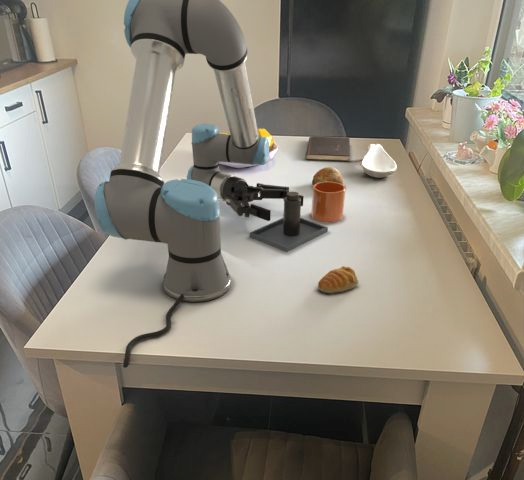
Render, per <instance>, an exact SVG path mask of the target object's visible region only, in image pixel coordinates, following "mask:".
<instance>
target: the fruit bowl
mask: <svg viewBox="0 0 524 480" xmlns="http://www.w3.org/2000/svg"><path fill="white" fill-rule="evenodd" d="M257 129H258V134H259V136H262V137H266V138H267V139H268V141H269V156H268V160H267V162H269V161H271V160H272V159H273V157H274V156H275V154H276V152H278V150H279V146H278V144H277V142H276V141H275V140H274V138H273V135H272V134H270V133H269V132H268V130H267V129H266V128H264V127H263V128H261V127H259V128H258V127H257ZM219 134H229V133H227V132H223V131H221V132H220V133H219ZM219 165H223V166H227V167H231V168H234V169H243V168H248V167H249V168H250V167H255V166H257V165H250V164H240V163H230V162H219Z"/></svg>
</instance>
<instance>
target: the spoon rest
mask: <svg viewBox="0 0 524 480" xmlns="http://www.w3.org/2000/svg"><path fill="white" fill-rule="evenodd" d="M397 167H398V166H397V163H396V161H395V160H394V159H393V158H392V157H391V156H390V155H389V153H387V151H386V150H385V148H383V146H382V145H381V144H380V143H376V144H374V143H369V144H368V146H367V148H366V150H365V153H364V155H363V159H362V161H361V168H362V170H363V172H365V174H367V175H368V176H369V177H372V178H375V179H382V178H387V177H389V176H391V175H392V174H394V172H395V171H396V170H397Z"/></svg>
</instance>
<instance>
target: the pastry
mask: <svg viewBox="0 0 524 480" xmlns="http://www.w3.org/2000/svg"><path fill="white" fill-rule="evenodd" d="M358 284H359V280H358V276H357V274H356V272H355V270H354V269H353V268H352V267H350V266H344V265H342V266H341V267H339V268H335V269H331V270H329V271H328V272H327V273H325V274H324V275H323V276H322V277H321V279H320V280H319V281H318V283H317V286H318V287H317V289H318V291H321V292H324V293H327V294H335V293H336V294H337V293H343V292H346V291H348V290H352V289H354V288H355V287H356V286H357V285H358Z"/></svg>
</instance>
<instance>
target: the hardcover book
mask: <svg viewBox="0 0 524 480" xmlns="http://www.w3.org/2000/svg"><path fill="white" fill-rule="evenodd" d="M350 157H351V139H350V137H340V136H315V135H310V136H309V139H308V142H307V148H306V153H305V160H306V161H321V162H343V163H349V162H350Z"/></svg>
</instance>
